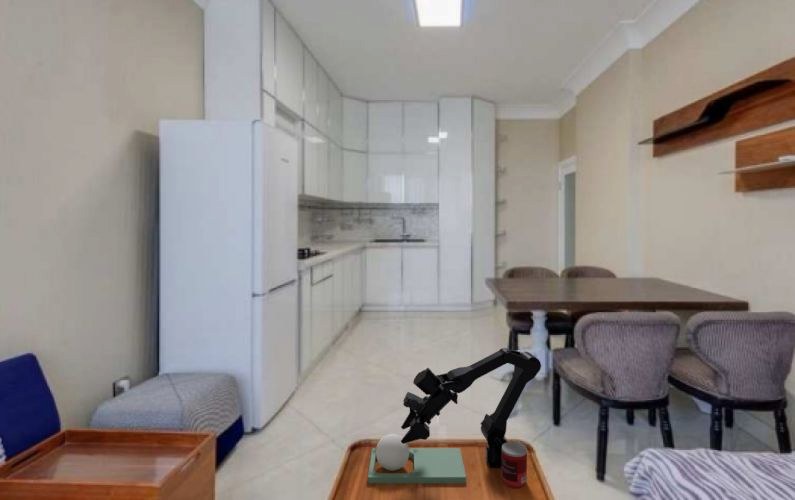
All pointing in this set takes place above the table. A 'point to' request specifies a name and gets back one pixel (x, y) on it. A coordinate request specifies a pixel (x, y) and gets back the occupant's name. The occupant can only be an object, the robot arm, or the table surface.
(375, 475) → the putting board
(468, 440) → the table surface
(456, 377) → the robot arm
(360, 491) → the table surface
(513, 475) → the canned food
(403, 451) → the ball
